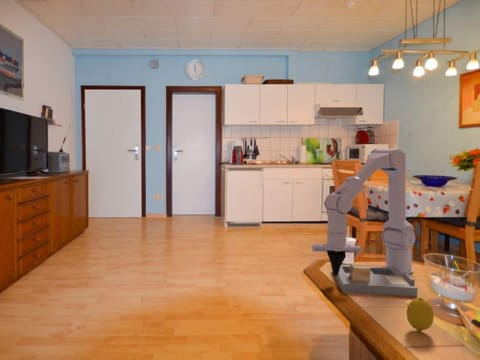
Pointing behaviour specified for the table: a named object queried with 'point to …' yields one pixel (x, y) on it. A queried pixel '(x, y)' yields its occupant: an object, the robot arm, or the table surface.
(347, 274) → the platform
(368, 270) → the block
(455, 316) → the table surface
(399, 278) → the pad
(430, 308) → the lemon
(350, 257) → the beverage cup
